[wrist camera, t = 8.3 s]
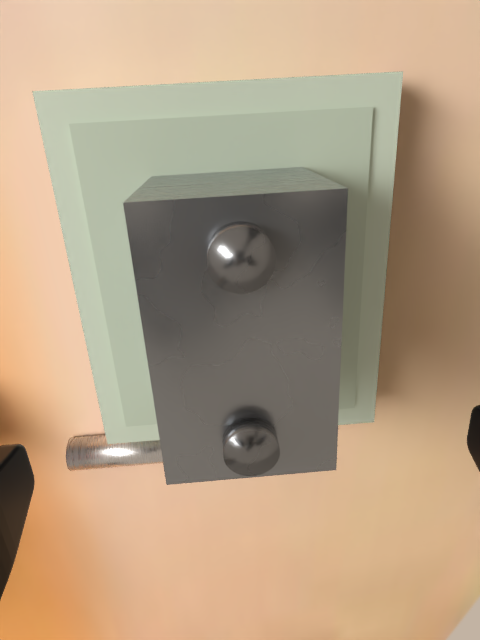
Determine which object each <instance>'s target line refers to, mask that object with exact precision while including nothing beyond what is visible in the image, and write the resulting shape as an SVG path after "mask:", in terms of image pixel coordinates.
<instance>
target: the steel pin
mask: <svg viewBox="0 0 480 640" xmlns="http://www.w3.org/2000/svg"><path fill="white" fill-rule="evenodd" d="M66 462H67V466H68V469H69V470H70V471H73V470H85V469H97V468H109V467H121V466H133V465H145V464H157V463H163V458H162V452H161V445H160V440H153V441H141V442H129V443H117V444H107V439H106V435H95V436H83V437H71V438H70V439H69V441H68V444H67V449H66Z"/></svg>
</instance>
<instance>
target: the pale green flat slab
mask: <svg viewBox="0 0 480 640" xmlns="http://www.w3.org/2000/svg"><path fill="white" fill-rule="evenodd" d="M402 79H403V72H384V73H366V74H347V75H328V76H310V77H291V78H272V79H254V80H235V81H216V82H197V83H179V84H160V85H141V86H123V87H104V88H85V89H67V90H48V91H32V92H33V96H34V101H35V106H36V110H37V115H38V120H39V125H40V129H41V134H42V139H43V143H44V148H45V153H46V157H47V162H48V167H49V172H50V176H51V181H52V186H53V190H54V195H55V200H56V204H57V209H58V214H59V219H60V223H61V228H62V233H63V237H64V242H65V247H66V251H67V256H68V261H69V265H70V270H71V275H72V280H73V284H74V289H75V294H76V298H77V303H78V308H79V312H80V317H81V322H82V327H83V331H84V336H85V341H86V345H87V350H88V355H89V359H90V364H91V369H92V374H93V378H94V383H95V388H96V392H97V397H98V402H99V406H100V411H101V416H102V421H103V425H104V430H105V435H106V439H107V444H117V443H129V442H141V441H153V440H160V439H159V432H158V426H157V419H156V413H155V406H154V400H153V393H152V387H151V380H150V374H149V368H148V361H147V355H146V348H145V342H144V335H143V329H142V322H141V316H140V309H139V303H138V296H137V290H136V284H135V277H134V271H133V264H132V258H131V251H130V245H129V238H128V232H127V225H126V219H125V213H124V206H123V202H124V201H125V200H126V199H127V198H129V197H130V196H131V195H132V194H133V193H134V192H135V191H136V190H137V189H138V188H139V187H140V186H141V185H143V184H144V183H145V182H146V181H147V180H148V179H149V178H150V177H151V176H163V175H179V174H195V173H212V172H228V171H244V170H260V169H276V168H292V167H304V168H306V169H308V170H310V171H312V172H314V173H316V174H319V175H321V176H323V177H325V178H327V179H329V180H331V181H334V182H336V183H338V184H340V185H342V186H344V187H346V188H348V203H347V227H346V250H345V273H344V297H343V320H342V343H341V367H340V390H339V414H338V425H345V424H357V423H369V422H374V417H375V404H376V392H377V380H378V368H379V356H380V344H381V332H382V320H383V308H384V296H385V284H386V272H387V260H388V248H389V236H390V223H391V211H392V199H393V187H394V175H395V163H396V151H397V139H398V127H399V115H400V103H401V91H402Z"/></svg>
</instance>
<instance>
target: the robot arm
mask: <svg viewBox="0 0 480 640" xmlns="http://www.w3.org/2000/svg"><path fill="white" fill-rule="evenodd" d="M467 445H468V449H469V451H470V454H471V456H472V458H473V460H474V462H475V464H476V465H477V467H478V469H479V471H480V405H478V406H476V407H474V408H473V410H472V413H471V419H470V424H469V430H468V435H467ZM33 490H34V475H33V472H32V468H31V465H30V462H29V458H28V455H27V452H26V449H25V447H24V446H23V445H21V444H13V445H2V446H0V599H1V597H2V594H3V591H4V589H5V586H6V584H7V581H8V578H9V575H10V573H11V570H12V567H13V564H14V561H15V557H16V554H17V550H18V547H19V543H20V539H21V535H22V531H23V528H24V524H25V520H26V516H27V513H28V509H29V505H30V501H31V497H32V494H33Z"/></svg>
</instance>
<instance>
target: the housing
mask: <svg viewBox="0 0 480 640" xmlns="http://www.w3.org/2000/svg"><path fill="white" fill-rule="evenodd" d="M347 203H348V188H346V187H344V186H342V185H340V184H338V183H336V182H334V181H331V180H329V179H327V178H325V177H323V176H321V175H319V174H316V173H314V172H312V171H310V170H308V169H306V168H304V167H292V168H276V169H260V170H244V171H228V172H212V173H195V174H179V175H163V176H151V177H150V178H149V179H148V180H147V181H146V182H145V183H144V184H143V185H141V186H140V187H139V188H138V189H137V190H136V191H135V192H134V193H133V194H132V195H131V196H130V197H129V198H127V199H126V200H125V201H124V202H123V206H124V213H125V219H126V225H127V232H128V238H129V245H130V251H131V258H132V264H133V271H134V277H135V284H136V290H137V296H138V303H139V309H140V316H141V322H142V329H143V335H144V342H145V348H146V355H147V361H148V368H149V374H150V380H151V387H152V393H153V400H154V406H155V413H156V419H157V426H158V432H159V439H160V445H161V452H162V458H163V464H164V471H165V477H166V484H167V485H169V484H181V483H192V482H204V481H215V480H226V479H238V478H249V477H261V476H272V475H284V474H295V473H307V472H318V471H329V470H336V460H337V437H338V414H339V390H340V367H341V343H342V320H343V297H344V273H345V250H346V227H347Z"/></svg>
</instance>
